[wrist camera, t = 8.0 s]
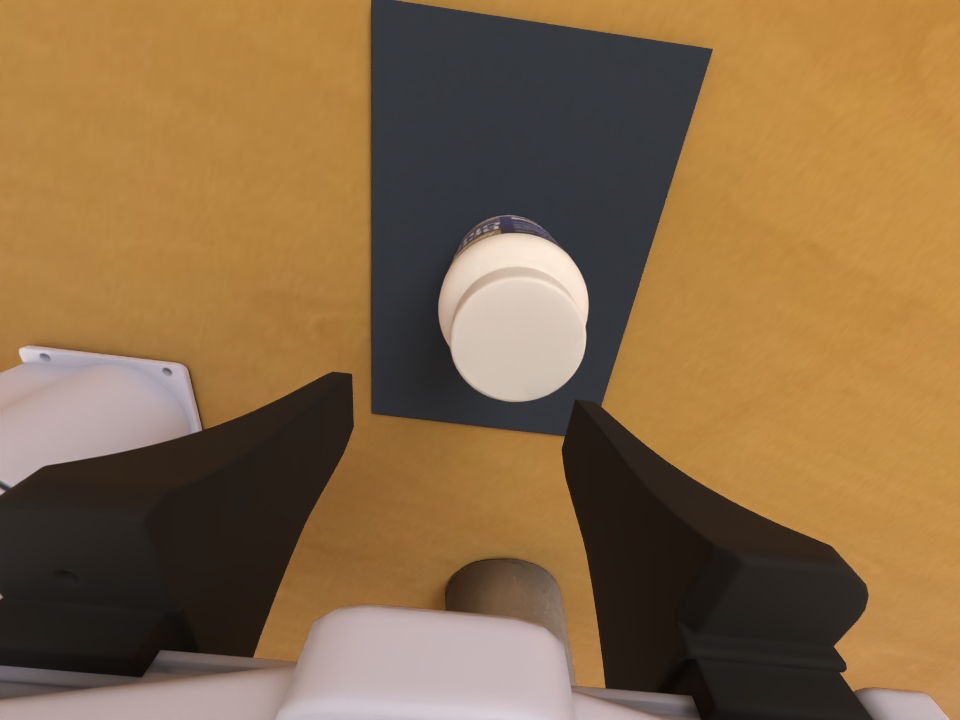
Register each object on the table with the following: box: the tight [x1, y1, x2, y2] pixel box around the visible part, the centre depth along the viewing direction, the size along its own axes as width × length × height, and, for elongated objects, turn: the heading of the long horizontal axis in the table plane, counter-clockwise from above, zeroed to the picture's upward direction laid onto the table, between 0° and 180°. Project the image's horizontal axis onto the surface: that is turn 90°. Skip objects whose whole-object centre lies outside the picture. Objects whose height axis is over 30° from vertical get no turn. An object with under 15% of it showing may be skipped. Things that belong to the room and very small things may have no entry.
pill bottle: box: [438, 215, 589, 402], centre depth 15 cm, size 5×5×10 cm
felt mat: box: [371, 0, 713, 436], centre depth 20 cm, size 14×20×1 cm
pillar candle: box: [445, 559, 577, 686], centre depth 25 cm, size 10×10×15 cm
